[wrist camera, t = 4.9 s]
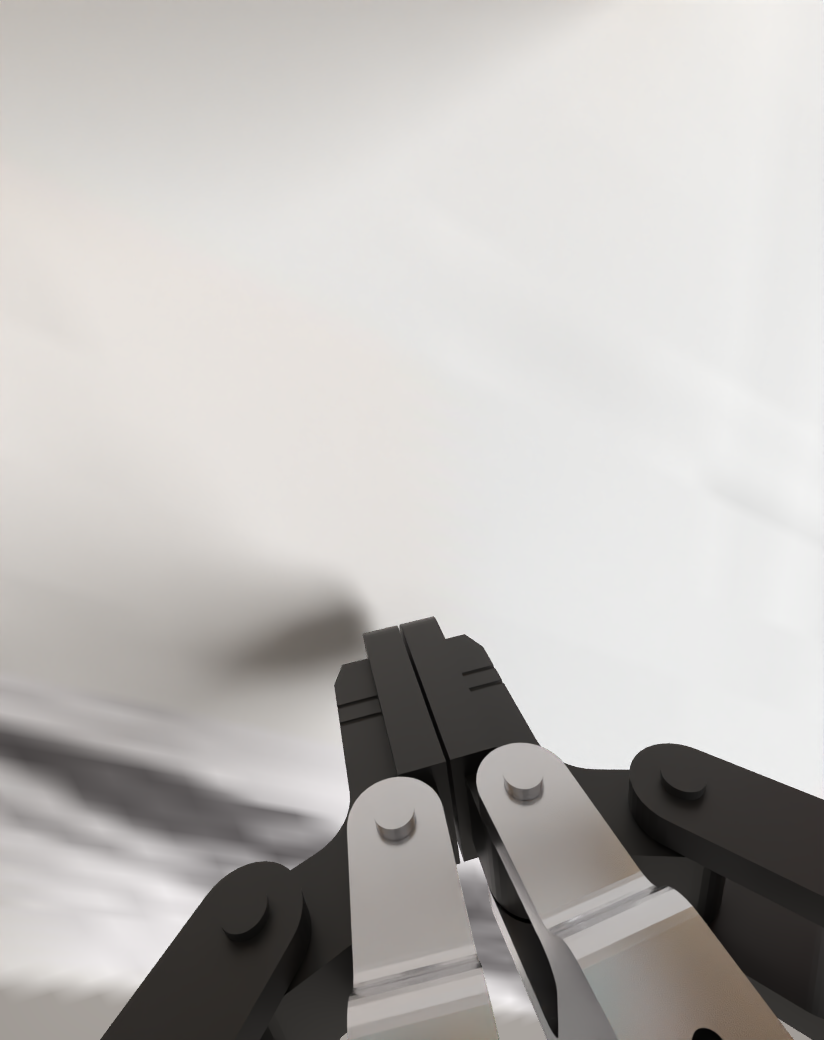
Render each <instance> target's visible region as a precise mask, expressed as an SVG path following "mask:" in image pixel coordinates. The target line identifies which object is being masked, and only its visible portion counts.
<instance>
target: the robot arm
mask: <svg viewBox="0 0 824 1040" xmlns="http://www.w3.org/2000/svg"><path fill="white" fill-rule="evenodd" d="M363 638H364V644H365V649H366V653H367V658H368V659H365V660H361V661H357V662H353V663H349V664H345V665H342V667H341V670H340V672H339V675H338V677H337V680H336V682H335V685H334V686H335V693H336V700H337V707H338V714H339V721H340V726H341V727H340V728H341V735H342V742H343V749H344V756H345V763H346V770H347V777H348V784H349V791H350V806H349V811H348V814H347V817H346V819H345V822H344V824H343V826H342V827H341V829H340V830H339V832H338V833H337V835H336V836H335V837H334V838H333V839H332V841H331V842H329V843H328V844H327V845H326V846H325V847H324V848H323V849H322V850H320V851H319V852H318V853H316V854H315V855H313V856H312V857H310V858H309V859H307V860H306V861H304V862H303V863H301V864H299V865H298V866H296V867H295V868H293V869H292V870H289V869H288V868H286V867H285V866H283V865H281V864H278V863H275V862H267V861H264V862H255V863H251V864H247V865H245V866H243V867H240V868H238V869H236V870H235V871H233V872H231V873H229V874H228V875H227V876H225V877H224V878H223V879H221V880H220V881H219V882H218V883H217V884H216V885H215V886H214V887H213V888H212V890H211V891H210V892H209V893H208V894H207V896H206V897H205V898H204V900H203V901H202V902H201V904H200V905H199V906H198V908H197V909H196V910H195V912H194V913H193V915H192V916H191V917H190V919H189V920H188V921H187V923H186V924H185V925H184V927H183V928H182V929H181V931H180V932H179V934H178V935H177V936H176V938H175V939H174V940H173V942H172V943H171V944H170V946H169V947H168V948H167V950H166V951H165V953H164V954H163V955H162V957H161V958H160V959H159V961H158V962H157V963H156V965H155V966H154V967H153V969H152V970H151V972H150V973H149V974H148V976H147V977H146V978H145V980H144V981H143V982H142V984H141V985H140V986H139V988H138V989H137V991H136V992H135V993H134V995H133V996H132V997H131V999H130V1000H129V1001H128V1003H127V1004H126V1006H125V1007H124V1008H123V1010H122V1011H121V1012H120V1014H119V1015H118V1016H117V1018H116V1019H115V1020H114V1022H113V1023H112V1024H111V1026H110V1027H109V1029H108V1030H107V1031H106V1033H105V1034H104V1035H103V1037H102V1038H101V1039H100V1040H340V1038H341V1037H342V1036H343V1035H344V1034H345V1033H347V1038H348V1039H347V1040H499V1035H498V1031H497V1027H496V1023H495V1018H494V1014H493V1010H492V1005H491V1001H490V997H489V993H488V989H487V985H486V981H485V977H484V973H483V969H482V966H481V963H480V961H479V960H478V957H477V953H476V949H475V945H474V941H473V936H472V932H471V928H470V923H469V919H468V915H467V910H466V906H465V901H464V897H463V893H462V888H461V884H460V880H459V875H458V871H457V866H456V864H459V863H460V858H459V851H458V845H459V848H460V851H461V854H462V857H463V860H464V862H465V861H468V860H471V859H474V858H477V857H479V860H480V863H481V865H482V868H483V871H484V874H485V877H486V879H487V883H488V892H489V900H490V905H491V908H492V911H493V913H494V916H495V918H496V921H497V923H498V925H499V928H500V930H501V932H502V935H503V937H504V939H505V942H506V944H507V946H508V949H509V951H510V954H511V956H512V958H513V961H514V963H515V965H516V968H517V970H518V972H519V975H520V977H521V979H522V982H523V984H524V987H525V989H526V991H527V994H528V996H529V998H530V1001H531V1003H532V1005H533V1008H534V1010H535V1013H536V1015H537V1017H538V1020H539V1022H540V1024H541V1027H542V1029H543V1031H544V1034H545V1036H546V1038H547V1040H793V1038H792V1037H791V1036H790V1034H789V1033H788V1032H787V1030H786V1029H785V1028H784V1026H783V1025H782V1024H781V1022H780V1021H779V1020H778V1019H780V1020H782V1021H783V1022H785V1023H787V1024H788V1025H790V1026H791V1027H793V1028H795V1029H796V1030H798V1031H799V1032H801V1033H803V1034H804V1035H806V1036H807V1037H809V1038H811V1039H812V1040H824V800H823V799H820V798H818V797H815V796H813V795H810V794H808V793H805V792H803V791H800V790H798V789H795V788H793V787H790V786H787V785H785V784H782V783H780V782H777V781H775V780H772V779H770V778H767V777H765V776H762V775H760V774H757V773H755V772H752V771H750V770H747V769H745V768H742V767H740V766H737V765H735V764H732V763H730V762H727V761H725V760H722V759H720V758H717V757H714V756H712V755H709V754H707V753H704V752H702V751H699V750H697V749H694V748H691V747H688V746H684V745H679V744H670V743H668V744H657V745H653V746H650V747H647V748H645V749H643V750H642V751H640V752H639V753H638V754H637V755H636V756H635V758H634V759H633V761H632V763H631V766H630V770H600V769H584V768H579V767H575V766H571V765H568V764H566V763H564V762H562V760H561V759H560V758H559V757H558V756H556V755H555V754H554V753H552V752H551V751H549V750H548V749H545V748H543V747H541V746H540V745H539V743H538V742H537V740H536V739H535V737H534V735H533V733H532V732H531V730H530V728H529V726H528V725H527V723H526V721H525V719H524V718H523V716H522V714H521V712H520V711H519V709H518V707H517V705H516V704H515V702H514V700H513V698H512V697H511V695H510V693H509V691H508V690H507V688H506V686H505V684H504V683H502V679H501V678H500V676H499V674H498V672H497V671H496V669H495V668H494V666H493V664H492V662H491V660H490V658H489V657H488V655H487V653H486V651H485V650H484V648H483V647H482V646H481V645H479V644H478V643H476V642H475V641H474V640H472V639H471V638H469V637H468V636H466V635H465V634H464V635H460V636H456V637H452V638H448V639H445V637H444V635H443V633H442V631H441V629H440V627H439V625H438V623H437V621H436V619H435V617H434V616H433V617H429V618H425V619H421V620H417V621H413V622H409V623H405V624H400V631H399V628H398V626H393V627H389V628H385V629H380V630H376V631H372V632H368V633H364V634H363ZM457 842H458V844H457Z"/></svg>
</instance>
